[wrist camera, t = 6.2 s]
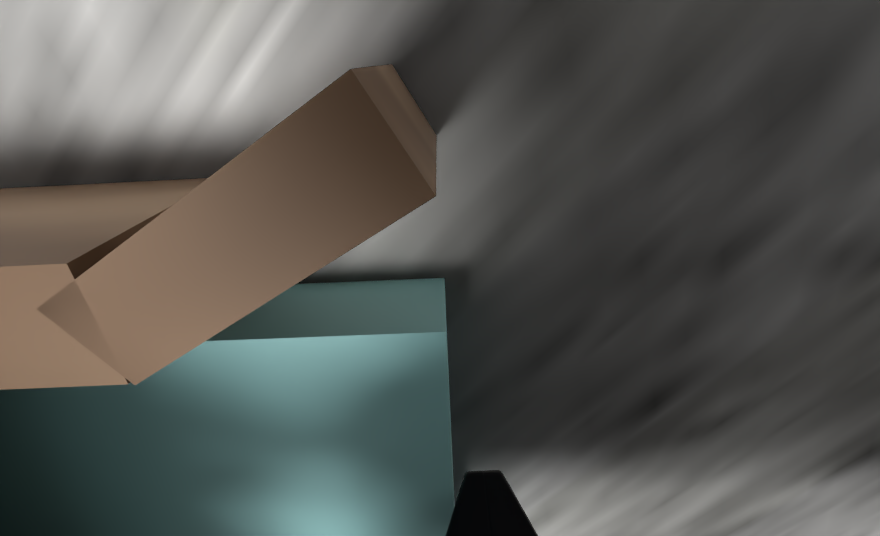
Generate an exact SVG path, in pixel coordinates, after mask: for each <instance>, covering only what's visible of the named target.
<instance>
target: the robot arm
mask: <svg viewBox="0 0 880 536" xmlns="http://www.w3.org/2000/svg"><path fill="white" fill-rule="evenodd" d="M445 536H538V535H537V533H536V531H535V530H534V528H533V526H532V524H531V522H530V521H529V519H528V517H527V515H526V514H525V512H524V510H523V508H522V507H521V505H520V503H519V501H518V499H517V498H516V496H515V494H514V492H513V491H512V489H511V487H510V485H509V484H508V482H507V480H506V478H505V477H504V475H503V473H502V472H501V471H499V470H488V471H467V472H466V473H465V475H464V478H463V482H462V485H461V488H460V491H459V494H458V497H457V501H456V504H455V507H454V510H453V513H452V516H451V520H450V523H449V526H448V529H447V532H446V535H445Z"/></svg>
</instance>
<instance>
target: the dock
mask: <svg viewBox="0 0 880 536" xmlns="http://www.w3.org/2000/svg"><path fill="white" fill-rule="evenodd" d="M436 149H437V136H436V134H435V132H434V131H433V129H432V128H431V126H430V124H429V123H428V121H427V120H426V118H425V116H424V115H423V113H422V112H421V110H420V108H419V107H418V105H417V104H416V102H415V100H414V99H413V97H412V96H411V94H410V92H409V91H408V89H407V88H406V86H405V84H404V83H403V81H402V80H401V78H400V76H399V75H398V73H397V72H396V70H395V68H394V67H393V65H392V64H390V65H381V66H372V67H363V68H354V69H350V70H349V71H347V72H346V73H345V74H344V75H342V76H341V77H340V78H338V79H337V80H336V81H334V82H333V83H332V84H330V85H329V86H328V87H326V88H325V89H324V90H323V91H321V92H320V93H319V94H317V95H316V96H315V97H313V98H312V99H311V100H309V101H308V102H307V103H306V104H304V105H303V106H302V107H300V108H299V109H298V110H296V111H295V112H294V113H292V114H291V115H290V116H288V117H287V118H286V119H285V120H283V121H282V122H281V123H279V124H278V125H277V126H275V127H274V128H273V129H271V130H270V131H269V132H268V133H266V134H265V135H264V136H262V137H261V138H260V139H258V140H257V141H256V142H254V143H253V144H252V145H250V146H249V147H248V148H247V149H245V150H244V151H243V152H241V153H240V154H239V155H237V156H236V157H235V158H233V159H232V160H231V161H230V162H228V163H227V164H226V165H224V166H223V167H222V168H220V169H219V170H218V171H216V172H215V173H214V174H212V175H211V176H210V177H209V178H199V179H179V180H160V181H140V182H120V183H100V184H81V185H61V186H41V187H21V188H1V189H0V390H7V389H31V388H55V387H79V386H103V385H127V384H129V383H130V382H131V383H132V384H134V385H137V384H138V383H140V382H141V381H143V380H145V379H146V378H148V377H149V376H151V375H152V374H154V373H156V372H157V371H159V370H160V369H162V368H164V367H165V366H167V365H168V364H170V363H172V362H173V361H175V360H176V359H178V358H179V357H181V356H183V355H184V354H186V353H187V352H189V351H191V350H192V349H194V348H195V347H197V346H199V345H200V344H202V343H203V342H205V341H206V340H208V339H210V338H211V337H213V336H214V335H216V334H218V333H219V332H221V331H222V330H224V329H226V328H227V327H229V326H230V325H232V324H234V323H235V322H237V321H238V320H240V319H241V318H243V317H245V316H246V315H248V314H249V313H251V312H253V311H254V310H256V309H257V308H259V307H261V306H262V305H264V304H265V303H267V302H268V301H270V300H272V299H273V298H275V297H276V296H278V295H280V294H281V293H283V292H284V291H286V290H288V289H289V288H291V287H292V286H294V285H295V284H297V283H299V282H300V281H302V280H303V279H305V278H307V277H308V276H310V275H311V274H313V273H315V272H316V271H318V270H319V269H321V268H322V267H324V266H326V265H327V264H329V263H330V262H332V261H334V260H335V259H337V258H338V257H340V256H342V255H343V254H345V253H346V252H348V251H349V250H351V249H353V248H354V247H356V246H357V245H359V244H361V243H362V242H364V241H365V240H367V239H369V238H370V237H372V236H373V235H375V234H376V233H378V232H380V231H381V230H383V229H384V228H386V227H388V226H389V225H391V224H392V223H394V222H396V221H397V220H399V219H400V218H402V217H404V216H405V215H407V214H408V213H410V212H411V211H413V210H415V209H416V208H418V207H419V206H421V205H423V204H424V203H426V202H427V201H429V200H431V199H432V198H434V197H435V196H436Z"/></svg>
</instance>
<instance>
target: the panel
mask: <svg viewBox="0 0 880 536" xmlns="http://www.w3.org/2000/svg"><path fill="white" fill-rule="evenodd" d="M454 507H455V503H454V481H453V458H452V436H451V413H450V391H449V368H448V345H447V323H446V300H445V278H429V279H405V280H380V281H356V282H332V283H308V284H295V285H294V286H292V287H291V288H289V289H288V290H286V291H284V292H283V293H281V294H280V295H278V296H276V297H275V298H273V299H272V300H270V301H268V302H267V303H265V304H264V305H262V306H261V307H259V308H257V309H256V310H254V311H253V312H251V313H249V314H248V315H246V316H245V317H243V318H241V319H240V320H238V321H237V322H235V323H234V324H232V325H230V326H229V327H227V328H226V329H224V330H222V331H221V332H219V333H218V334H216V335H214V336H213V337H211V338H210V339H208V340H206V341H205V342H203V343H202V344H200V345H199V346H197V347H195V348H194V349H192V350H191V351H189V352H187V353H186V354H184V355H183V356H181V357H179V358H178V359H176V360H175V361H173V362H172V363H170V364H168V365H167V366H165V367H164V368H162V369H160V370H159V371H157V372H156V373H154V374H152V375H151V376H149V377H148V378H146V379H145V380H143V381H141V382H140V383H138V384H137V385H134V384H132V383H131V382H130V383H129V384H127V385H103V386H79V387H55V388H31V389H7V390H0V536H445V535H446V532H447V529H448V526H449V523H450V520H451V516H452V513H453V510H454Z"/></svg>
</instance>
